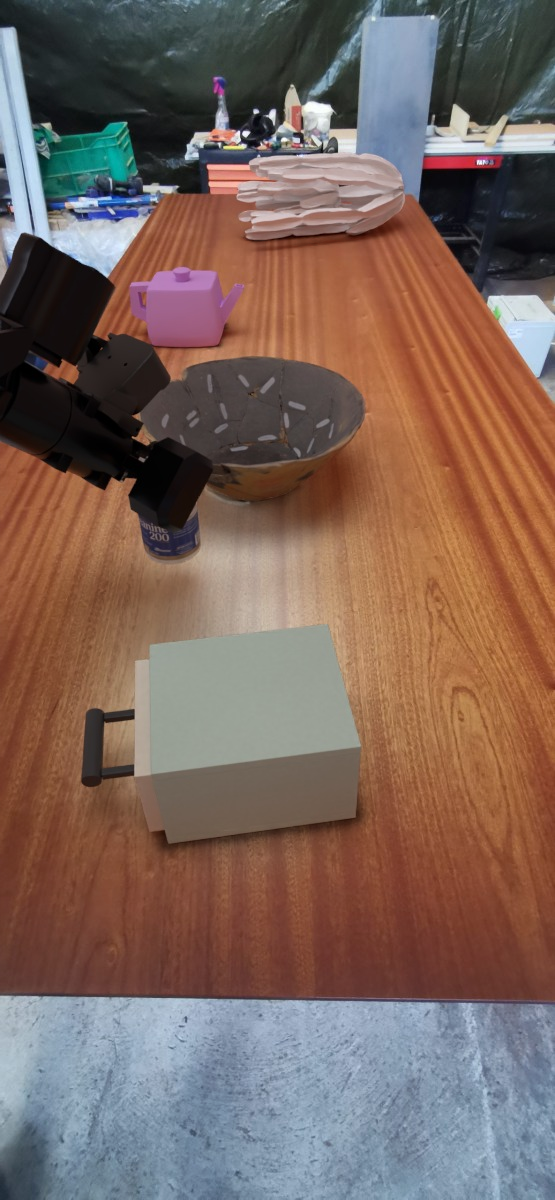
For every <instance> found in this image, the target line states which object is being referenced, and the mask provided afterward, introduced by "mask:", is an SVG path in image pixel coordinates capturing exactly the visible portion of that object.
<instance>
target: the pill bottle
mask: <svg viewBox="0 0 555 1200" xmlns="http://www.w3.org/2000/svg"><path fill="white" fill-rule="evenodd" d="M139 460H140V461H142V462H144V461H145V459H143V458H141V457H140V458H139ZM198 509H199V508H198V502H197V503H196V505H195V506H194V508H193V510H192V512H191V514H190V516H189V518H188V520H187V522H186V524H185V526H184V528H183V529H182V530H180V531H178V532H176V533H172V532H170V531H168V530H165V529H163V528H160V527H158V526H157V525H155V524H153V523H152V522H150V521H149V520H147V519H145V518H144V517H142V516H140V515H139V514H137V517H138V522H139V527H140V532H141V538H142V544H143V550H144V552H145V555H146V556H147V557H148V558H149V560H151V561H152V562H154V563H157V564H160V565H166V566H172V565H180V564H183V563H186V562H187V561H188V562H189V561H190V560H192V559H194V557H196V556H197V555H198V554H199V552H200V550H201V548H202V547H201V546H202V540H201V530H200V529H201V528H200V520H199V519H200V518H199V510H198Z"/></svg>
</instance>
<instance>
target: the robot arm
mask: <svg viewBox="0 0 555 1200" xmlns="http://www.w3.org/2000/svg"><path fill="white" fill-rule="evenodd" d="M116 288H117V287H116V286H115V283H113V282H112V281H111V280H110V278H108V277H107V276H105V275H104V274H103V273H102V272H100V270H98V269H97V268H96V267H93V266H90V265H87V264H85V263H82V262H81V261H79V260H78V259H76V258H74V257H72V256H71V255H69V254H67V253H65V252H64V251H62V250H60V249H58V248H56V247H54V246H52V245H51V244H50V243H49V242H47V240H45V239H44V238H42V237H40V236H37V235H34V234H32V233H28V232H25V231H24V232H21V233H20V235H19V237H18V239H17V241H16V243H15V245H14V248H13V251H12V255H11V258H10V262H9V264H8V267H7V269H6V271H5V273H4V275H3V278H2V280H1V282H0V442H1V443H3V444H5V445H7V446H10V447H11V448H14V449H17V450H18V451H21V452H23V453H26V454H28V455H30V456H32V457H34V458H37V459H38V460H40V461H42V462H43V463H45V464H46V465H48V466H50V467H51V468H53V469H54V470H57V471H59V472H61V473H62V474H63V473H64V474H67V472H68V473H71V474H73V475H76V477H77V476H78V477H80V478H81V479H83V480H84V481H86V482H87V483H89V484H91V485H92V486H94V487H96V488H98V489H100V490H102V491H106V490H107V487H108V485H109V484H110V481H111V479H114V480H115V481H117V482H119V483H124V482H125V481H126V480H127V479H132V480H133V479H135V481H134V483H133V485H132V487H131V489H130V491H129V493H128V494H127V496H128V501H129V508H130V510H131V511H133V512H134V513H136V514H137V515H138V514H139V515H140V516H142V517H144V518H145V519H147V520H149V521H150V522H152V523H153V524H155V525H157V526H158V527H160V528H163V529H165V530H168V531H170V532H172V533H176V532H178V531H180V530H182V529H183V528H184V526H185V524H186V522H187V520H188V518H189V516H190V514H191V512H192V510H193V508H194V506H195V505H196V503H197V504H198V501H199V499H200V497H201V494H202V493H203V491H204V489H205V488H206V486H207V485H206V483H207V481H208V480H209V478H210V476H211V474H212V472H213V470H214V469H213V463H212V460H210V459H209V458H207V457H205V456H204V455H202V454H200V453H199V452H197V451H195V450H193V449H191V448H189V447H187V446H185V445H183V444H181V443H179V442H177V441H175V440H173V439H171V438H169V437H167V438H164V439H162V440H160V441H152V442H151V443H150V442H149V443H148V444H145V443H143V442H142V441H139V440H137V439H135V438H138V436H139V434H140V432H141V431H142V430H141V428H142V426H143V424H144V423H143V422H141V421H139V420H138V418H136V417H135V416H136V415H138V413H140V412H141V411H142V410H143V409H144V408H145V407H146V406H147V405H148V403H149V402H150V401H151V400H152V399H153V398H154V397H155V396H156V395H157V394H158V393H159V391H160V390H164V389H165V388H166V387H167V386H168V384H169V383H170V380H172V377H171V374H170V373H169V371H168V370H167V368H166V366H165V364H164V363H163V361H162V360H161V358H160V356H159V355H158V352H157V351H156V350H155V348H154V345H152V344H151V343H148V342H146V341H144V340H142V339H139V338H137V337H134V336H132V335H129V334H127V333H120V334H115V333H113V332H109V333H108V334H107V335H106V336H107V338H108V339H109V340H106V339H104V338H101V337H100V336H98V335H96V334H95V331H96V330H97V328H98V325H99V324H100V321H101V319H102V317H103V315H104V314H105V311H106V309H107V308H108V306H109V304H110V300H111V299H112V297H113V295H114V293H115V291H116ZM28 354H31V355H33V356H34V357H36V358H38V359H40V360H42V361H44V362H45V363H48V364H49V365H51V366H52V367H55V368H58V369H60V368H61V365H62V364H63V361H64V362H66V363H68V364H70V365H72V367H75V368H76V370H77V371H78V375H77V379H75V381H74V382H73V383H72V382H70V381H69V380H67V379H64V378H62V377H59V378H56V377H54V376H53V375H50V374H49V373H47V372H46V371H44V370H42V369H40V368H39V367H37V366H35V365H33V364H32V363H30V362H28V361H26V358H27V356H28ZM140 457H141V458H143V459H145V461H144V462H142V461H140V460H139V458H140Z"/></svg>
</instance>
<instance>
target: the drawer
mask: <svg viewBox="0 0 555 1200" xmlns="http://www.w3.org/2000/svg"><path fill="white" fill-rule="evenodd" d="M128 721H134V741H133V743H134V744H133V745H134V750H133V751H134V753H133V755H134V756H133V758H134V759H133V761H134V762H133V763H132V764H126V765H125V764H124V765H118V766H110V767H104V766H103V765H104V744H105V724H111V723H119V722H128ZM127 777H134V780H135V785H136V788H137V792H138V795H139V800H140V803H141V806H142V810H143V814H144V818H145V822H146V826H147V828H148V832H149V833H150V832H160V831H165V829H164V825H163V821H162V817H161V813H160V809H159V805H158V801H157V797H156V793H155V788H154V784H153V780H152V776H151V740H150V661H149V658H146V659H138V660H134V708H131V709H123V710H115V711H114V710H113V711H107V712H105V710H103V709H102V708H98V707H94V708H90V709H88V710H86V712H85V719H84V733H83V749H82V763H81V777H80V782H81V784H82V785H83V786H84V787H87V788H95V787H98V786H101V784H102V782H103V780H104V781H105V780H111V779H112V780H113V779H120V778H127Z"/></svg>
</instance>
